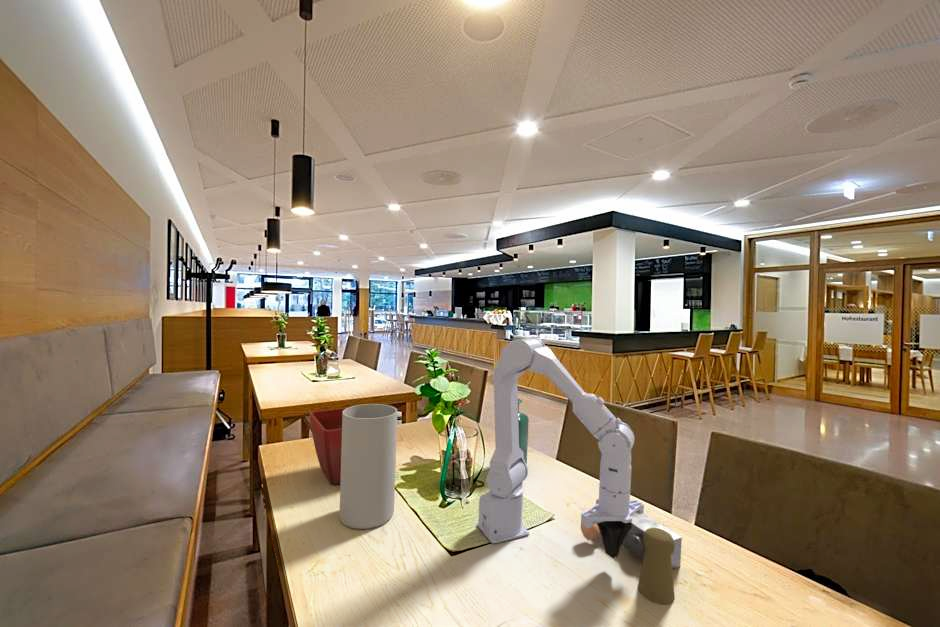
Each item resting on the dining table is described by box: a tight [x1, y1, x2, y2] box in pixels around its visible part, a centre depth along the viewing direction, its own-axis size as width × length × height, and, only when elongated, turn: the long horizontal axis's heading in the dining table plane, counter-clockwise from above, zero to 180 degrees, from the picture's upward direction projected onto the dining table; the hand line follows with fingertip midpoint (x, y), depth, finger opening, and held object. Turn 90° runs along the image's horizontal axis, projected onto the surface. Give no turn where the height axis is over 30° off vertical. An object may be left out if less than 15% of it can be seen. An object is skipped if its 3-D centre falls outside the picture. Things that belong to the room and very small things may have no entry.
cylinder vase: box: [339, 403, 398, 530], centre depth 92 cm, size 12×12×25 cm
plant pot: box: [309, 407, 347, 486], centre depth 114 cm, size 19×19×17 cm
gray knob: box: [626, 534, 646, 557], centre depth 81 cm, size 7×4×4 cm, turn 115°
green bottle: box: [518, 398, 530, 465], centre depth 122 cm, size 10×8×22 cm
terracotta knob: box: [580, 522, 600, 541], centre depth 86 cm, size 7×4×4 cm, turn 115°
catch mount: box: [595, 498, 683, 571], centre depth 85 cm, size 6×18×6 cm, turn 25°
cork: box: [637, 528, 676, 605], centre depth 71 cm, size 6×6×11 cm
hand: (611, 554), depth 77 cm, fingers closed
